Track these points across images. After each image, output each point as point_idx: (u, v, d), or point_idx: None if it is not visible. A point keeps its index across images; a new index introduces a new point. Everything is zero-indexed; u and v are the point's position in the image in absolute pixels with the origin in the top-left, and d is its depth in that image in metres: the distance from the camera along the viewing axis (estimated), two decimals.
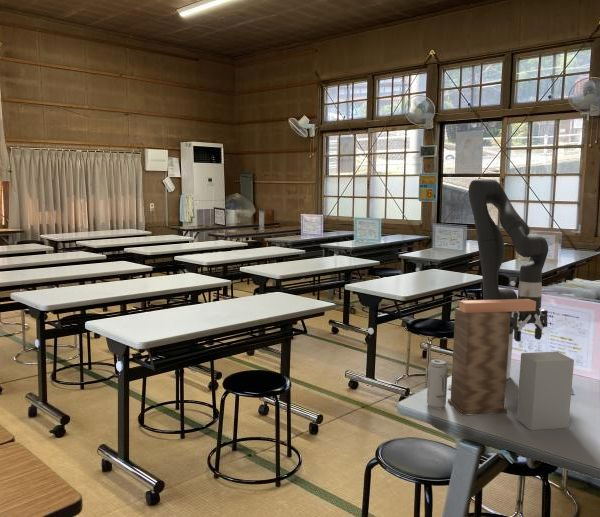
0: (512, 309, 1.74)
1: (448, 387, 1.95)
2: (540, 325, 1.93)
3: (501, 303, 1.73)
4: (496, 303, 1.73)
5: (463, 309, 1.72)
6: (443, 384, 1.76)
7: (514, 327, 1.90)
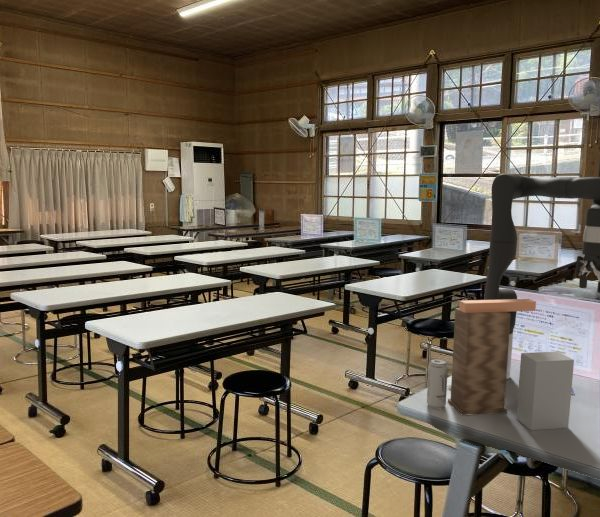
0: (512, 309, 1.74)
1: (448, 387, 1.95)
2: (598, 276, 1.74)
3: (501, 303, 1.73)
4: (496, 303, 1.73)
5: (463, 309, 1.72)
6: (443, 384, 1.76)
7: (576, 271, 1.84)
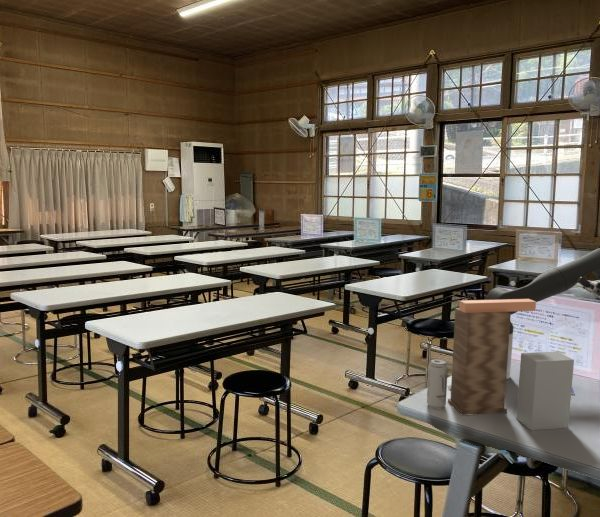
0: (512, 309, 1.74)
1: (448, 387, 1.95)
2: None
3: (501, 303, 1.73)
4: (496, 303, 1.73)
5: (463, 309, 1.72)
6: (443, 384, 1.76)
7: None
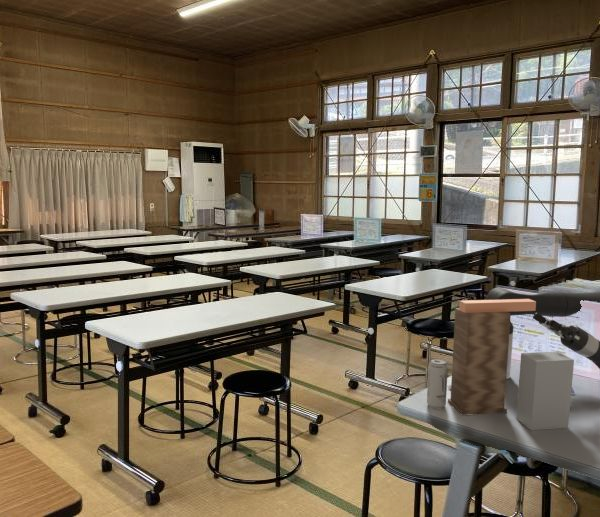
0: (512, 309, 1.74)
1: (448, 387, 1.95)
2: (564, 326, 1.75)
3: (501, 303, 1.73)
4: (496, 303, 1.73)
5: (463, 309, 1.72)
6: (443, 384, 1.76)
7: None
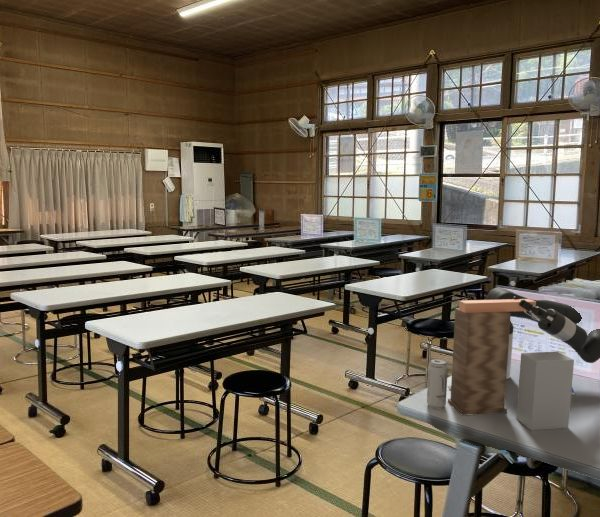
0: (512, 309, 1.74)
1: (448, 387, 1.95)
2: (534, 306, 1.75)
3: (501, 303, 1.73)
4: (496, 303, 1.73)
5: (463, 309, 1.72)
6: (443, 384, 1.76)
7: None
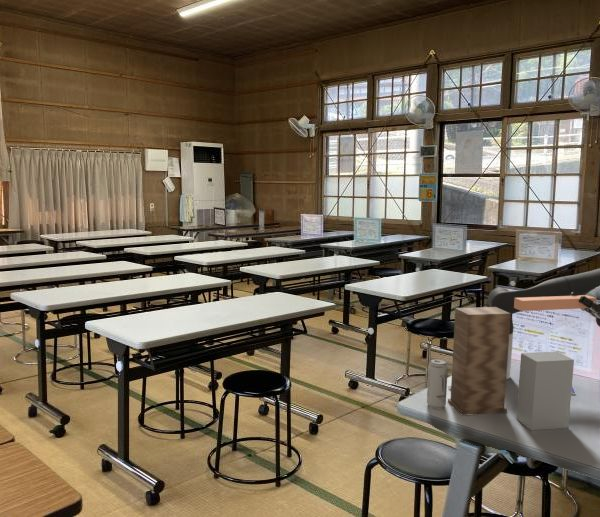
0: (571, 306, 1.62)
1: (448, 387, 1.94)
2: None
3: (560, 300, 1.61)
4: (554, 300, 1.61)
5: (519, 307, 1.60)
6: (443, 384, 1.76)
7: None
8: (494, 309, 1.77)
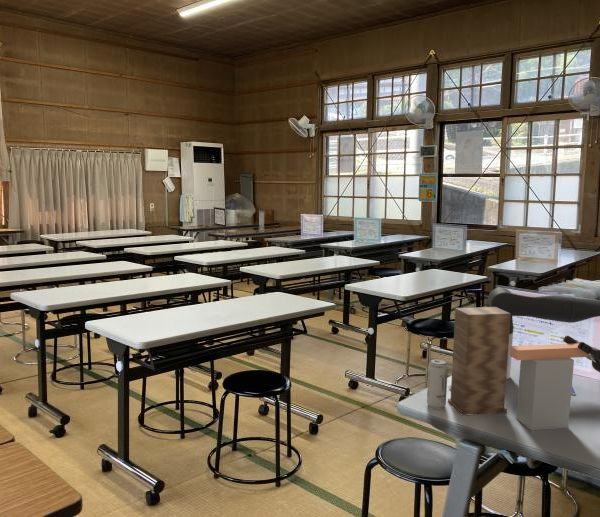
0: (567, 355, 1.64)
1: None
2: None
3: (555, 349, 1.63)
4: (550, 349, 1.63)
5: (515, 356, 1.62)
6: (443, 384, 1.76)
7: None
8: (494, 309, 1.77)
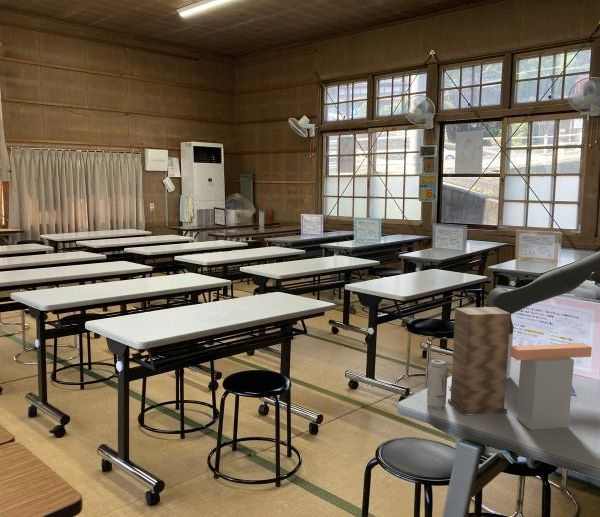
0: (567, 355, 1.64)
1: (449, 388, 1.94)
2: None
3: (555, 349, 1.63)
4: (550, 349, 1.63)
5: (515, 356, 1.62)
6: (443, 384, 1.76)
7: None
8: (494, 309, 1.77)
